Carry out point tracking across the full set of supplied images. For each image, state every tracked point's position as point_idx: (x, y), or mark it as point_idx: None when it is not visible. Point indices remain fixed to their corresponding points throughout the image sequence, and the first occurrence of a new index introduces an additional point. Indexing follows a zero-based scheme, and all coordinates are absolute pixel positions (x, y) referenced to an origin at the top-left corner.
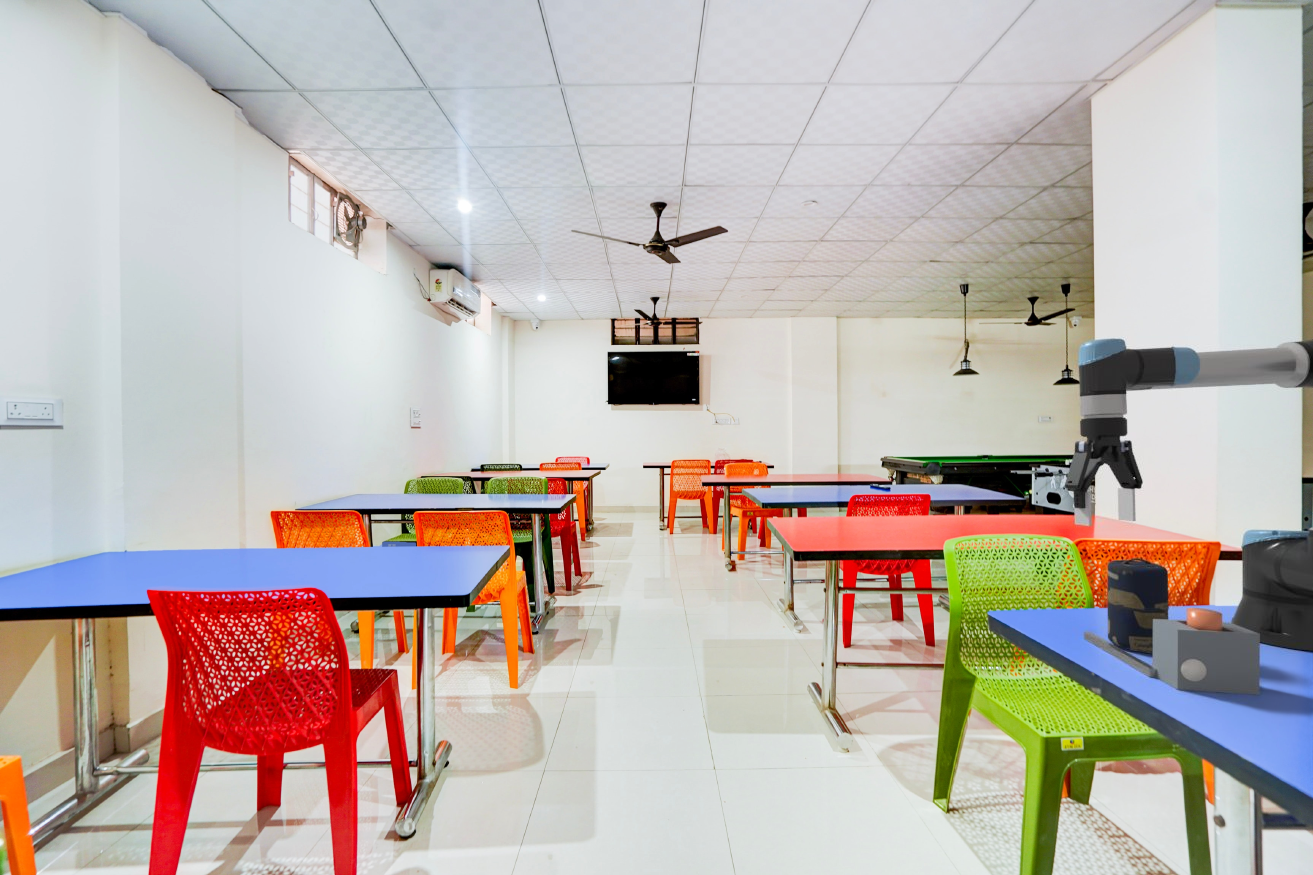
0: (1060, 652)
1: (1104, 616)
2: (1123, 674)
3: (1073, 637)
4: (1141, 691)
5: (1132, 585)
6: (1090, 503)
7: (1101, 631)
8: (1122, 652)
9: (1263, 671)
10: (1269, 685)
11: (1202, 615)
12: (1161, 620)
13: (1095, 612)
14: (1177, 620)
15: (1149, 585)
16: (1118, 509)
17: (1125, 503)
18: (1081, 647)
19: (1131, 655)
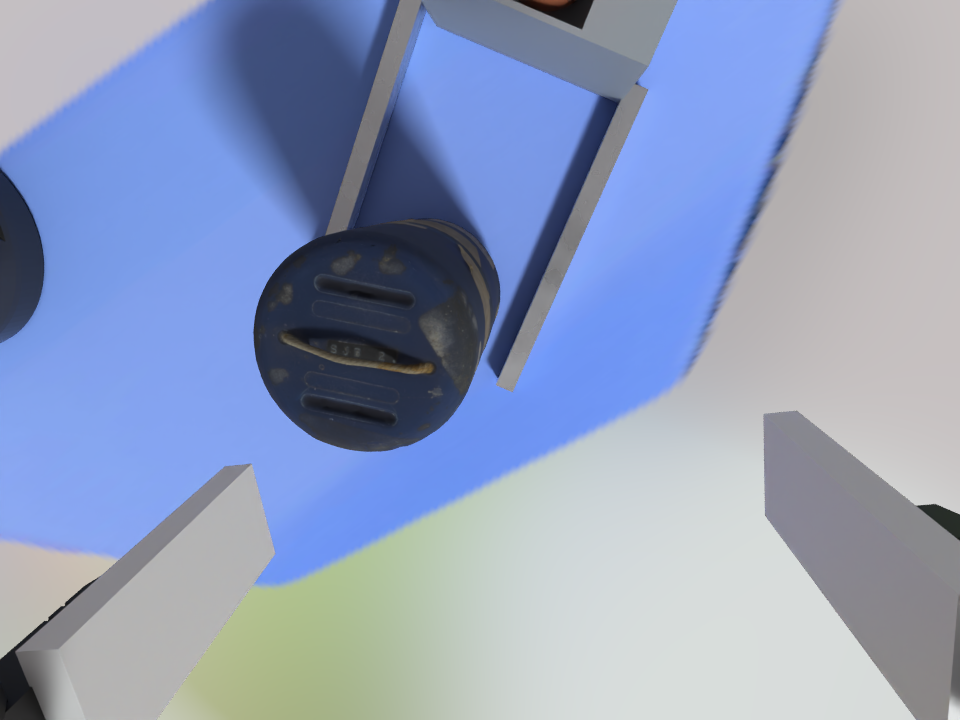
0: (700, 312)
1: None
2: (697, 128)
3: (533, 401)
4: (784, 10)
5: (469, 284)
6: (879, 506)
7: None
8: (586, 218)
9: (269, 57)
10: None
11: None
12: (638, 39)
13: None
14: (572, 27)
15: (427, 241)
16: (237, 604)
17: (189, 595)
18: (594, 330)
19: (585, 191)
